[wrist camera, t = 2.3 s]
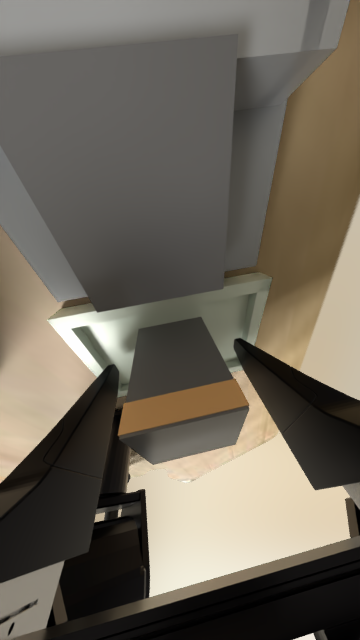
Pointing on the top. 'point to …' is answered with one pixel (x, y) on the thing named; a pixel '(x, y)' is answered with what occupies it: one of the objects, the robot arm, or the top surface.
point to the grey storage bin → (147, 136)
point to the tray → (122, 324)
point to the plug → (180, 394)
